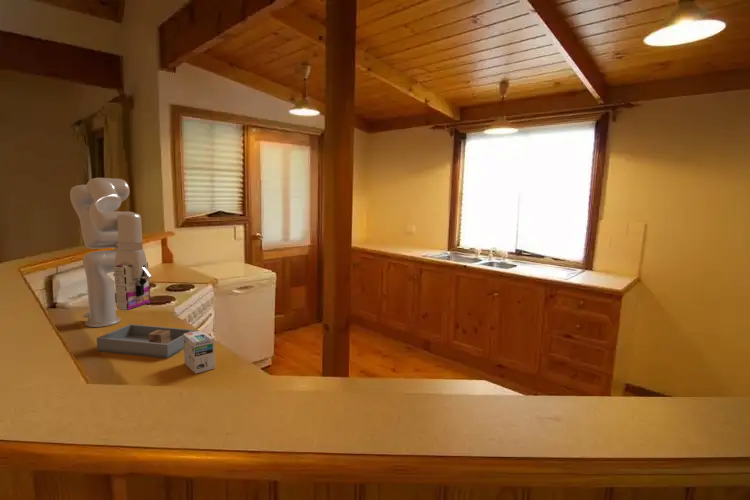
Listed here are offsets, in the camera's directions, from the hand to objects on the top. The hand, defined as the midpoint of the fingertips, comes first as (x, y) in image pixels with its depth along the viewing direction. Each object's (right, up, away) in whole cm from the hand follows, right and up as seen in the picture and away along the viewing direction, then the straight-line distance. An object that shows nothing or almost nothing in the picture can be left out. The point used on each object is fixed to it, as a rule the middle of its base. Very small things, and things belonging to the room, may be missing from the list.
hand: (133, 294), depth 145 cm
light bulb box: (+31, -23, -13) cm, 41 cm away
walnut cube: (+10, -19, +1) cm, 21 cm away
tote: (+5, -20, +1) cm, 20 cm away
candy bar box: (0, -5, +1) cm, 5 cm away
